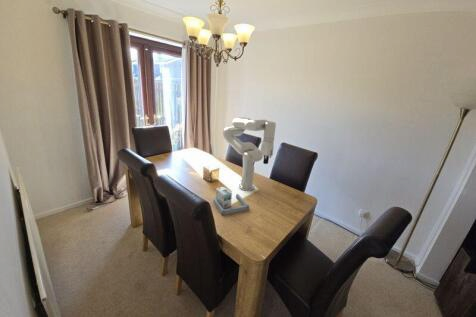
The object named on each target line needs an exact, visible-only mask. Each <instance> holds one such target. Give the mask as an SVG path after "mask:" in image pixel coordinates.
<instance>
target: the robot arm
mask: <svg viewBox="0 0 476 317" xmlns="http://www.w3.org/2000/svg"><path fill="white" fill-rule="evenodd" d="M276 126H277V123H276V122H275V121H271V120H270V121H269V120H267V119H255V120H254V119H251V118H249V117H236V118H234V119H233V120H232V126H228V127H225V128H224V129H223V132H222V134H223V135H222V136H223V139H224V140H225V141H226V142H227V143H228V145H229V146H231V147H232V148H233V149H234V151H236V152H237V153H238V154H239V155H241V156H242V174H241V179H240V184H239V185H238V187H239V189H240V190H242V191H245V192H246V191H247V192H250V191H253V190H254V189H255V186H254V184H253V183H254V176H255V165H254V163H256V162H259V161H262V160H263V163H262V164H264V165H268V164H269V161H270V160H269V159H271V158H272V156H273V154H274V143H275V137H276V136H275V135H276V128H277V127H276ZM246 130H247V131H252V132H253V131H254V132H259V131H264V132H263V139H262V143H261V147H260V149H259V148H258V147H257V146H256V145H255V143H253V142H251V141H247V142H243V141H242V140H241V139H239V138H238V137H240V136H242V135H243V133H244V132H245V131H246Z"/></svg>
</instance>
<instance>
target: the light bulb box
mask: <svg viewBox="0 0 476 317" xmlns="http://www.w3.org/2000/svg"><path fill="white" fill-rule="evenodd" d="M232 196H233V193H232V191H231V190H229V189H228V188H226V187H225V186H221V187H216V189H215V198H216V199H217V201H218V202H219V203H220V205H221V206H222V208H223V209H227V208H230V207H231V206H232V198H233V197H232Z"/></svg>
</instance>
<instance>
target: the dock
mask: <svg viewBox="0 0 476 317" xmlns="http://www.w3.org/2000/svg"><path fill="white" fill-rule="evenodd" d="M235 199H236V200H237V201H238V202H239V203H240V204H241V205H240V206H233V207H228V208H222V206H221V205H220V203H219V202H218V201H217V199H216V197H213V199H212V202H213V204H214V205H215V207H216V208H217V210H218V211H219V213H220V214H221V216H224V215H225V216H226V215H230V214H235V213H239V212H244V211H248V210H249V209H250V205H249V204H248V203H247V202H246V200H244V198H243V197H241V195H240V194H239V193H237V194H236V195H235Z"/></svg>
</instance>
